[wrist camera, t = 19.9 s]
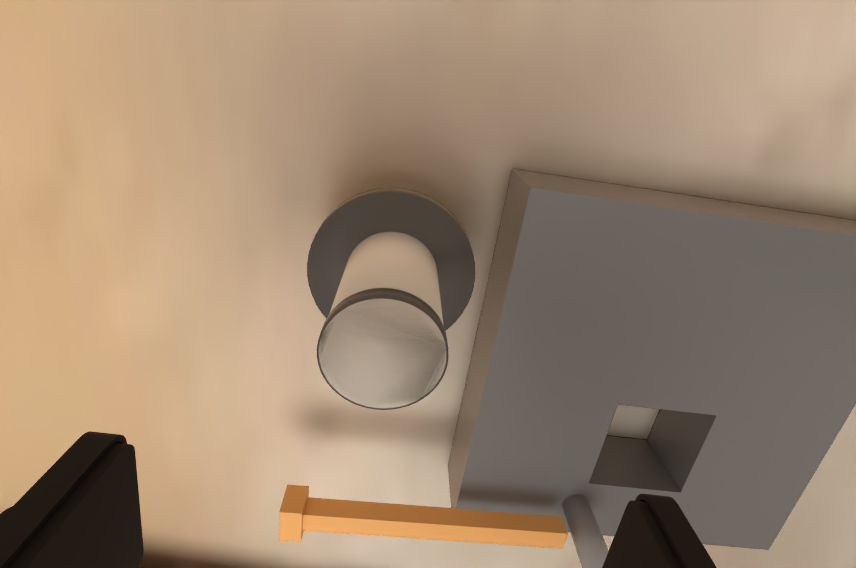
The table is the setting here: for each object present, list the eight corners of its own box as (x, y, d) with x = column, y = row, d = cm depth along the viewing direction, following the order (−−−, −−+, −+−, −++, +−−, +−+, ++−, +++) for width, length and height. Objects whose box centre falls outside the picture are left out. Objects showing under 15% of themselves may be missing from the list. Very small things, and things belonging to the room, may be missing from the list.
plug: (475, 179, 23) (522, 263, 13) (451, 305, 26) (475, 458, 16) (332, 158, 22) (267, 229, 12) (323, 289, 25) (261, 436, 15)
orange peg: (287, 484, 24) (279, 512, 22) (562, 505, 25) (571, 533, 23) (287, 512, 24) (278, 540, 23) (554, 531, 25) (562, 559, 24)
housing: (867, 222, 24) (1063, 287, 17) (727, 493, 31) (822, 623, 24) (512, 168, 23) (558, 214, 16) (447, 466, 30) (458, 595, 23)
